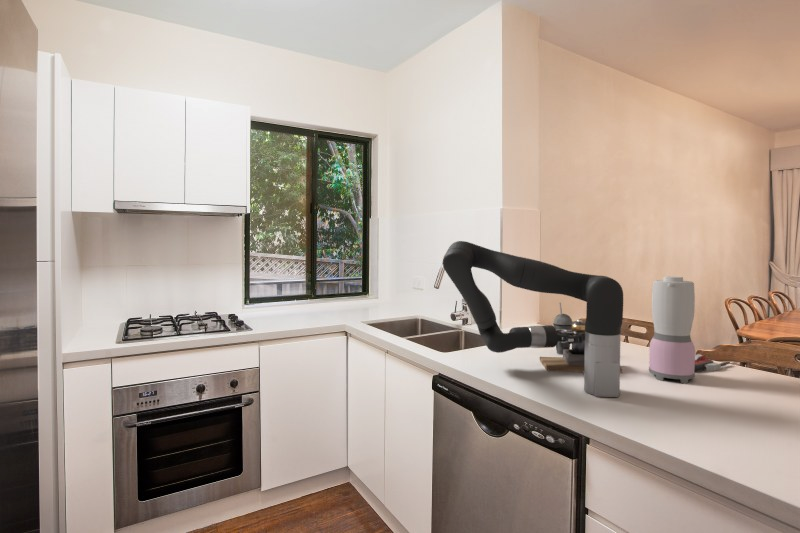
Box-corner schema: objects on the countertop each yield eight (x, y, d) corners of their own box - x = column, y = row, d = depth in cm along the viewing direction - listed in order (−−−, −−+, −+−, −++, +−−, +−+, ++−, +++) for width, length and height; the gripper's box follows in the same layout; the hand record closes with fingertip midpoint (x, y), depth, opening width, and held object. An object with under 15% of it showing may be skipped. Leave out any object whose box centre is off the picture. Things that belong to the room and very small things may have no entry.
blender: (696, 386, 124) (699, 278, 123) (648, 379, 131) (650, 277, 129) (691, 372, 138) (693, 275, 137) (648, 367, 144) (650, 274, 143)
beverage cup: (574, 356, 159) (575, 304, 158) (554, 355, 161) (554, 303, 160) (570, 351, 166) (571, 301, 166) (551, 350, 168) (551, 301, 167)
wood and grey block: (622, 372, 138) (622, 349, 138) (546, 370, 141) (547, 347, 141) (608, 362, 150) (609, 341, 150) (539, 360, 153) (539, 339, 153)
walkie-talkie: (700, 376, 135) (732, 367, 144) (701, 362, 135) (733, 354, 144) (672, 369, 143) (704, 361, 152) (672, 356, 143) (704, 349, 152)
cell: (587, 364, 143) (588, 321, 142) (573, 363, 144) (574, 321, 143) (583, 360, 148) (584, 319, 147) (569, 360, 148) (570, 318, 148)
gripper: (550, 329, 136) (598, 328, 138) (531, 322, 150) (575, 320, 152) (550, 352, 136) (598, 350, 139) (530, 342, 151) (575, 341, 153)
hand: (586, 335), depth 146 cm, fingers open, 5 cm apart
